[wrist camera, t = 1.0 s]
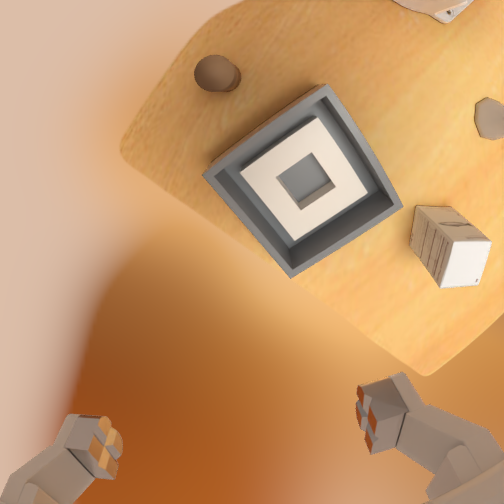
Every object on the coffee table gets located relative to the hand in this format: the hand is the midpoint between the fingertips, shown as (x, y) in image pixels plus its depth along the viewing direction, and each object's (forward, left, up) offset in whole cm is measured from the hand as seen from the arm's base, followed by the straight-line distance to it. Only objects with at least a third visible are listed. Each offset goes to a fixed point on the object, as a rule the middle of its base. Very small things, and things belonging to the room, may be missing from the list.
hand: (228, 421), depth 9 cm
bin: (-3, +6, -38) cm, 38 cm away
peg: (-3, -11, -38) cm, 39 cm away
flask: (-35, +15, -38) cm, 54 cm away
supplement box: (-16, +25, -38) cm, 48 cm away
